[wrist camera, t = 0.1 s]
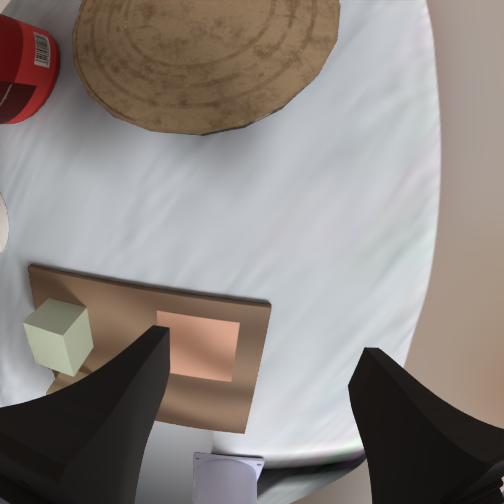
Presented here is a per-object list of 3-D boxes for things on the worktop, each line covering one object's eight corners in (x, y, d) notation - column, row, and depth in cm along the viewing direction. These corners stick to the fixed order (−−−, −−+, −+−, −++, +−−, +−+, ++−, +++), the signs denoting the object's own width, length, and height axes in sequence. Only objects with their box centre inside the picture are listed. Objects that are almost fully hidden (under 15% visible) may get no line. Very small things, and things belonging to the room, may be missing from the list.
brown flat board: (244, 429, 26) (244, 433, 25) (63, 390, 25) (61, 393, 25) (271, 304, 21) (271, 308, 20) (31, 264, 20) (27, 266, 19)
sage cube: (93, 347, 22) (74, 376, 18) (57, 336, 22) (35, 362, 18) (86, 307, 21) (62, 335, 17) (48, 297, 20) (22, 322, 17)
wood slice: (318, -56, 12) (326, -77, 9) (332, 135, 17) (347, 134, 14) (106, -36, 12) (90, -52, 9) (91, 148, 17) (68, 151, 15)
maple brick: (109, 407, 25) (97, 435, 21) (73, 395, 25) (59, 421, 21) (102, 378, 23) (86, 408, 20) (63, 366, 23) (45, 393, 19)
